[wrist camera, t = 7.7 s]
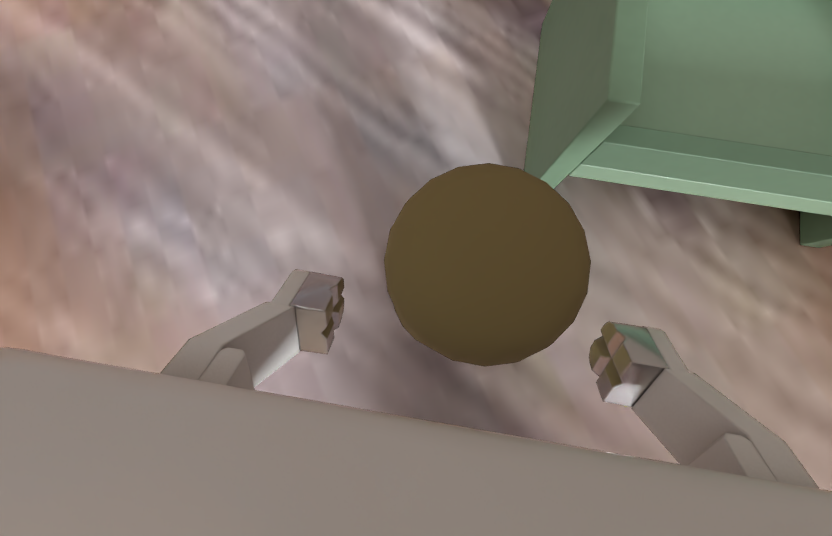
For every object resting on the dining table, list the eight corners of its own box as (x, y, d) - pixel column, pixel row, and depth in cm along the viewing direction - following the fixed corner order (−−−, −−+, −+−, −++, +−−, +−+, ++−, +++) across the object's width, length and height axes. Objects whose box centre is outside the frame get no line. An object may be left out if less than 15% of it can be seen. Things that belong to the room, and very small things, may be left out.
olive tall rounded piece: (415, 221, 19) (413, 89, 8) (522, 258, 19) (666, 171, 8) (376, 328, 18) (316, 337, 7) (487, 368, 18) (595, 440, 7)
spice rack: (519, 201, 19) (607, 99, 10) (541, 24, 21) (634, -195, 12) (818, 248, 19) (1175, 182, 10) (817, 63, 21) (1123, -133, 12)
